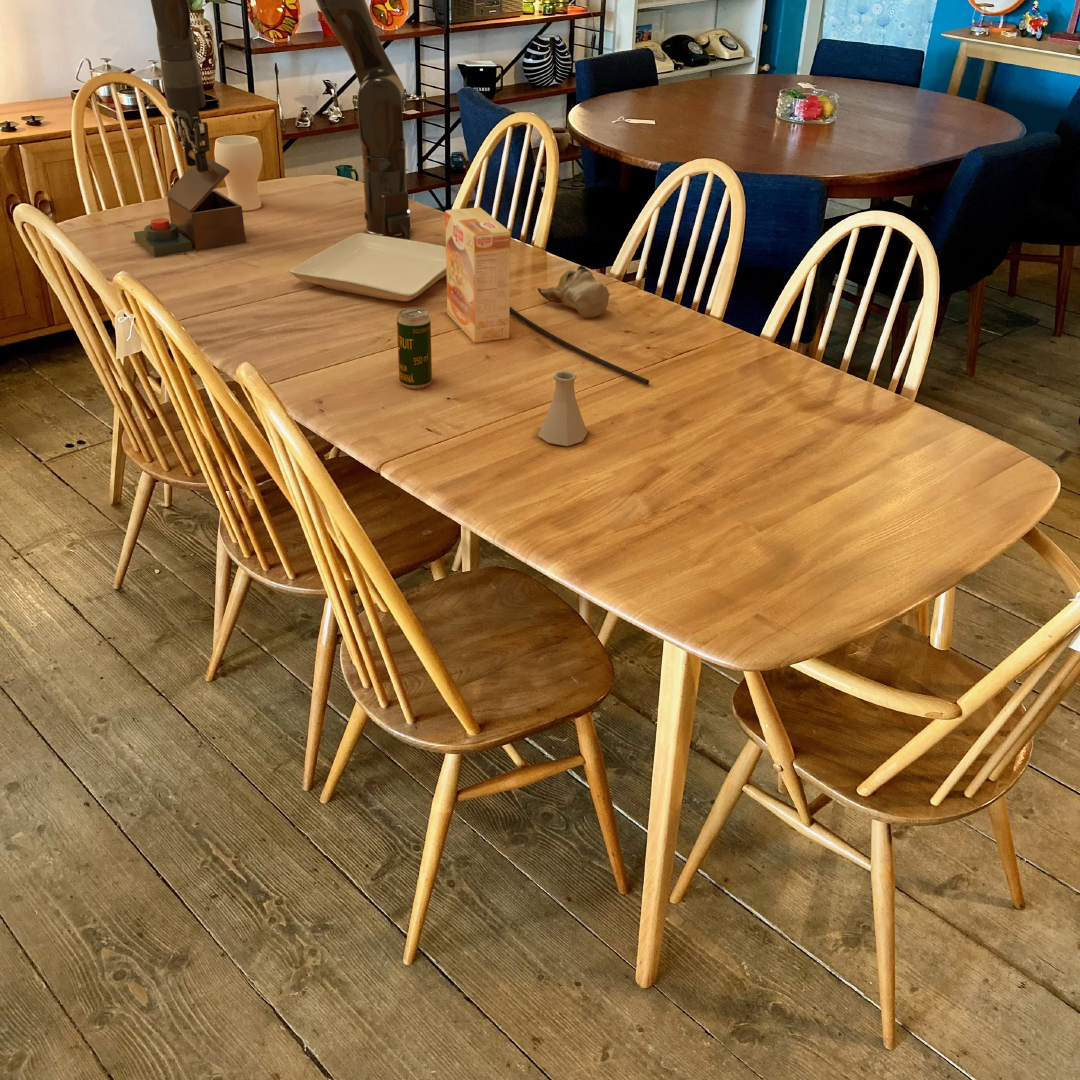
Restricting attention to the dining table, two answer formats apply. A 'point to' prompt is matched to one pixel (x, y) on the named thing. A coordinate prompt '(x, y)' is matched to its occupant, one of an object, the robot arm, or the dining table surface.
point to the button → (160, 224)
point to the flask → (563, 414)
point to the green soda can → (414, 348)
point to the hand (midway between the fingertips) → (197, 167)
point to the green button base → (163, 241)
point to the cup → (241, 168)
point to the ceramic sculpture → (579, 292)
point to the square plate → (376, 266)
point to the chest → (210, 222)
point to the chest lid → (197, 184)
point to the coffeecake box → (478, 273)
